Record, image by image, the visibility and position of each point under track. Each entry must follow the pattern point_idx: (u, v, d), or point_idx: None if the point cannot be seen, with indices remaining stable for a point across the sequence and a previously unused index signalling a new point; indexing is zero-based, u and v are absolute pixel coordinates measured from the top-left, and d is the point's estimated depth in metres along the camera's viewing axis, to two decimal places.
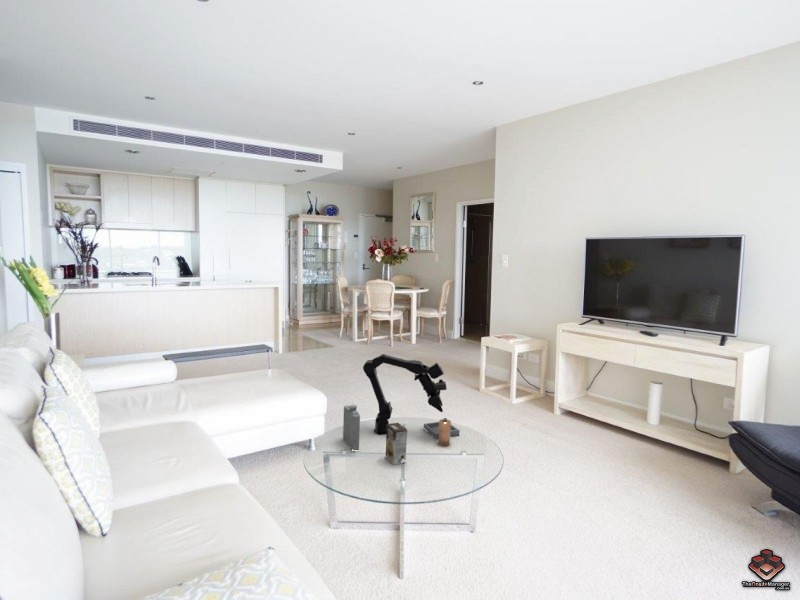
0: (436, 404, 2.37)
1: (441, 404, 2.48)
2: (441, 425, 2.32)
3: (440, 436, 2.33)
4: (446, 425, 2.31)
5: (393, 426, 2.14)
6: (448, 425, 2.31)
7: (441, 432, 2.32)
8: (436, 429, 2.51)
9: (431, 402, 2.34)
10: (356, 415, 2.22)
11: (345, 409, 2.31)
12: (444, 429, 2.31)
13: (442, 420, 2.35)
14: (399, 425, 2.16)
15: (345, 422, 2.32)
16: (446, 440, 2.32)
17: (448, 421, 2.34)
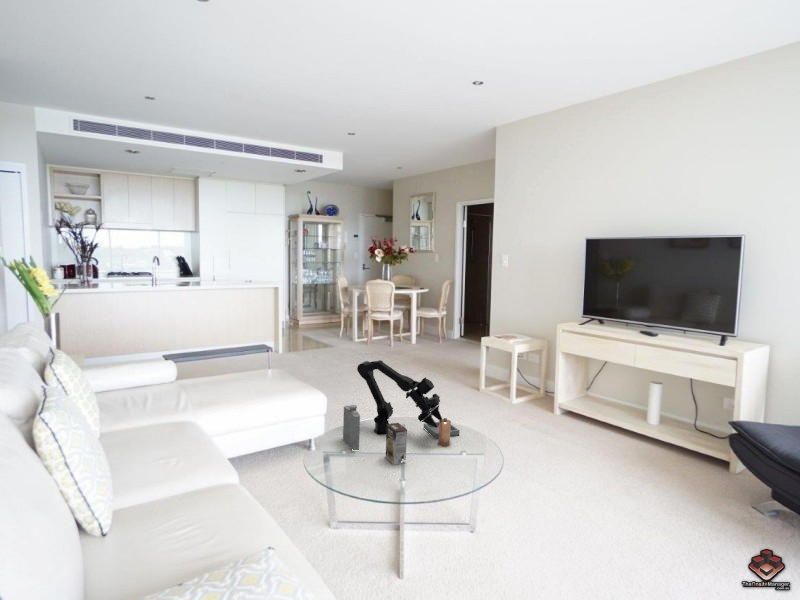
0: (429, 420, 2.30)
1: None
2: (441, 425, 2.32)
3: (440, 436, 2.33)
4: (446, 425, 2.31)
5: (393, 426, 2.14)
6: (448, 425, 2.31)
7: (441, 432, 2.32)
8: (436, 429, 2.51)
9: (421, 418, 2.28)
10: (356, 415, 2.22)
11: (345, 409, 2.31)
12: (444, 429, 2.31)
13: (442, 420, 2.35)
14: (399, 425, 2.16)
15: (345, 422, 2.32)
16: (446, 440, 2.32)
17: (448, 421, 2.34)
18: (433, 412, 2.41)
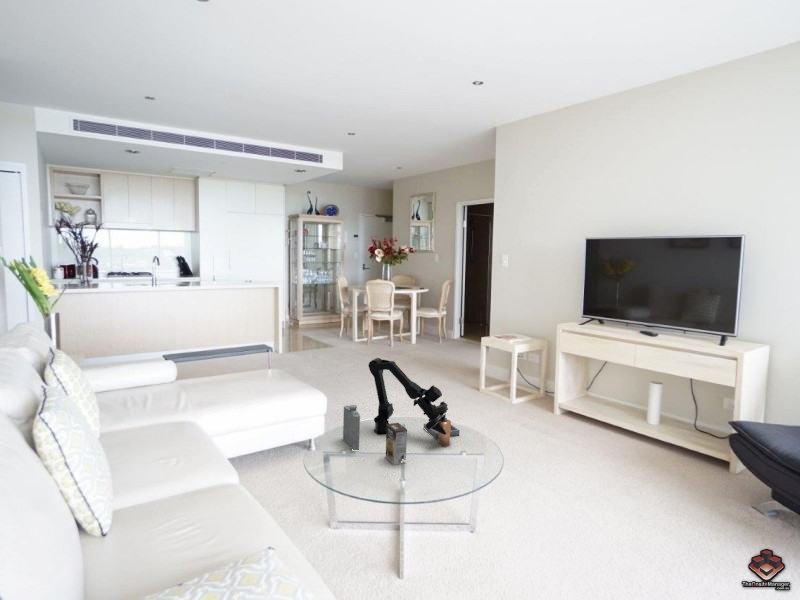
0: (437, 427, 2.31)
1: None
2: (441, 425, 2.32)
3: (440, 436, 2.33)
4: (446, 425, 2.31)
5: (393, 426, 2.14)
6: (448, 425, 2.31)
7: None
8: None
9: (428, 427, 2.27)
10: (356, 415, 2.22)
11: (345, 409, 2.31)
12: (444, 429, 2.31)
13: (442, 420, 2.35)
14: (399, 425, 2.16)
15: (345, 422, 2.32)
16: (446, 440, 2.32)
17: (448, 421, 2.34)
18: None
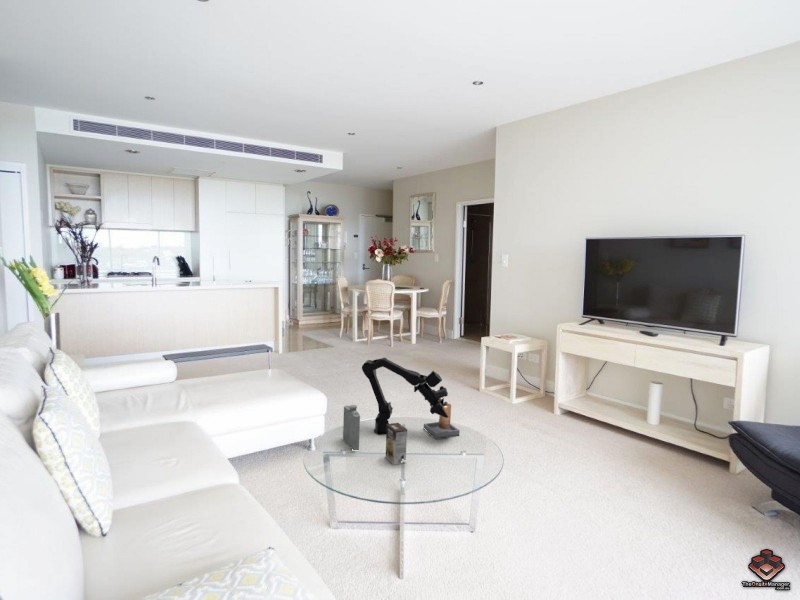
0: (440, 411, 2.37)
1: None
2: None
3: (442, 419, 2.39)
4: (448, 408, 2.38)
5: (393, 426, 2.14)
6: (449, 408, 2.39)
7: None
8: (436, 429, 2.51)
9: (433, 411, 2.32)
10: (356, 415, 2.22)
11: (345, 409, 2.31)
12: None
13: None
14: (399, 425, 2.16)
15: (345, 422, 2.32)
16: (447, 423, 2.39)
17: (448, 404, 2.41)
18: None
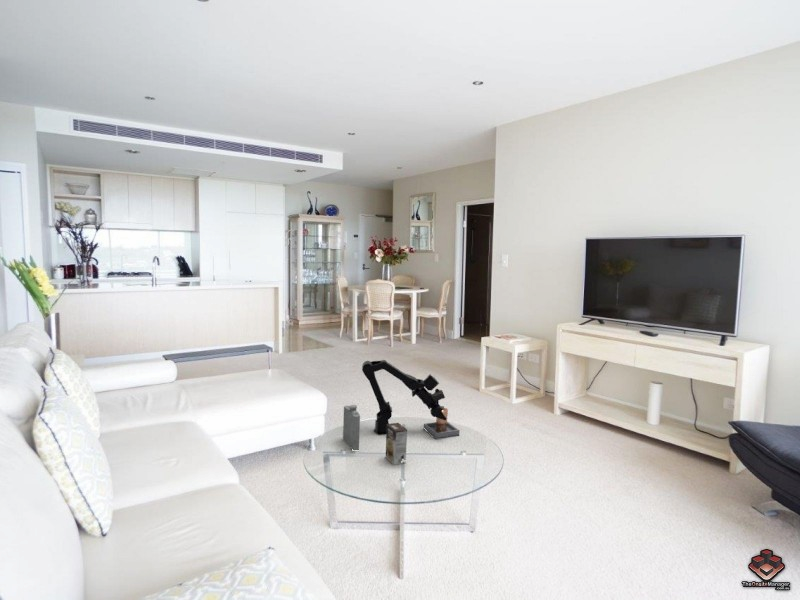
0: (439, 414, 2.42)
1: None
2: None
3: (439, 424, 2.46)
4: (445, 412, 2.46)
5: (393, 426, 2.14)
6: (447, 412, 2.47)
7: (441, 420, 2.46)
8: None
9: (434, 414, 2.38)
10: (356, 415, 2.22)
11: (345, 409, 2.31)
12: None
13: None
14: (399, 425, 2.16)
15: (345, 422, 2.32)
16: (445, 427, 2.47)
17: (445, 409, 2.49)
18: None
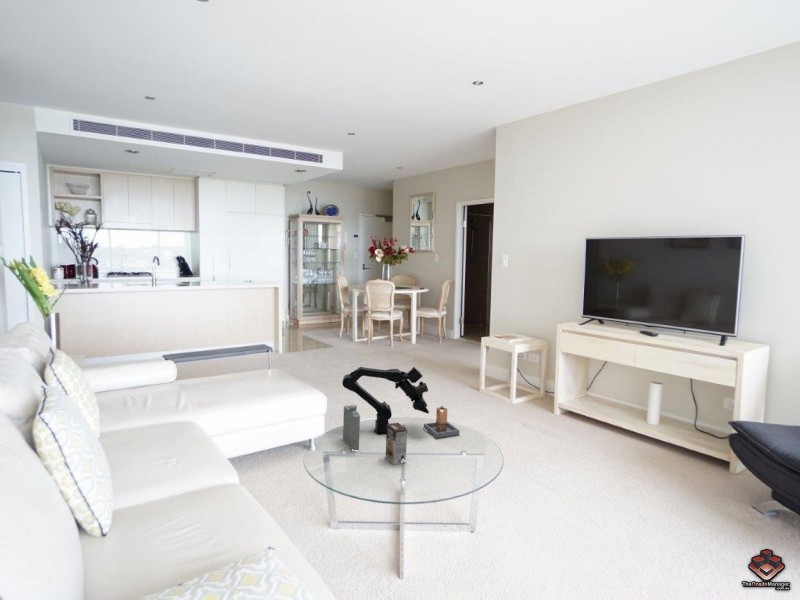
0: (421, 407, 2.41)
1: (426, 405, 2.52)
2: (441, 413, 2.46)
3: (439, 424, 2.46)
4: (445, 412, 2.46)
5: (393, 426, 2.14)
6: (446, 412, 2.47)
7: (441, 420, 2.46)
8: None
9: (416, 407, 2.37)
10: (356, 415, 2.22)
11: (345, 409, 2.31)
12: (443, 417, 2.46)
13: (439, 408, 2.49)
14: (399, 425, 2.16)
15: (345, 422, 2.32)
16: (445, 427, 2.47)
17: (444, 408, 2.49)
18: None
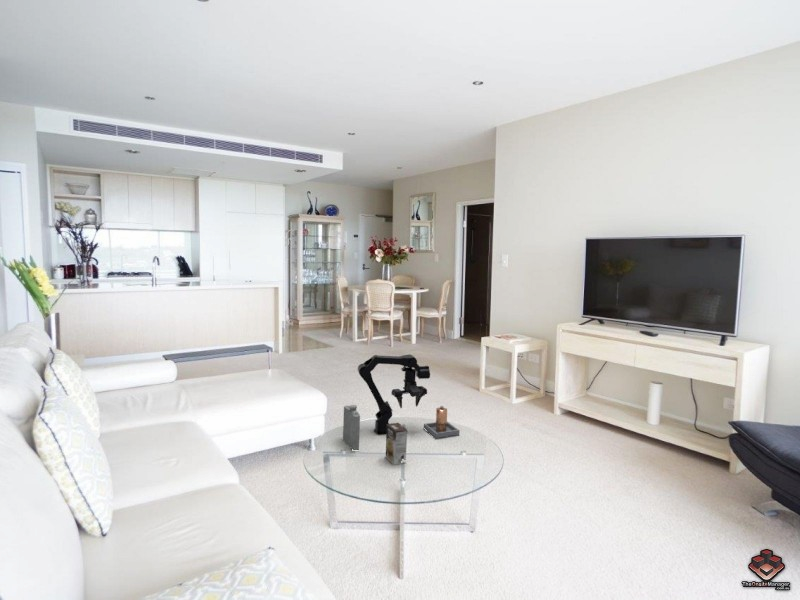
0: (398, 398, 2.46)
1: (416, 405, 2.50)
2: (440, 414, 2.45)
3: (439, 424, 2.46)
4: (445, 412, 2.46)
5: (393, 426, 2.14)
6: (446, 412, 2.47)
7: (440, 420, 2.46)
8: None
9: (392, 393, 2.45)
10: (356, 415, 2.22)
11: (345, 409, 2.31)
12: (443, 417, 2.46)
13: (438, 408, 2.48)
14: (399, 425, 2.16)
15: (345, 422, 2.32)
16: (445, 427, 2.47)
17: (444, 408, 2.49)
18: None
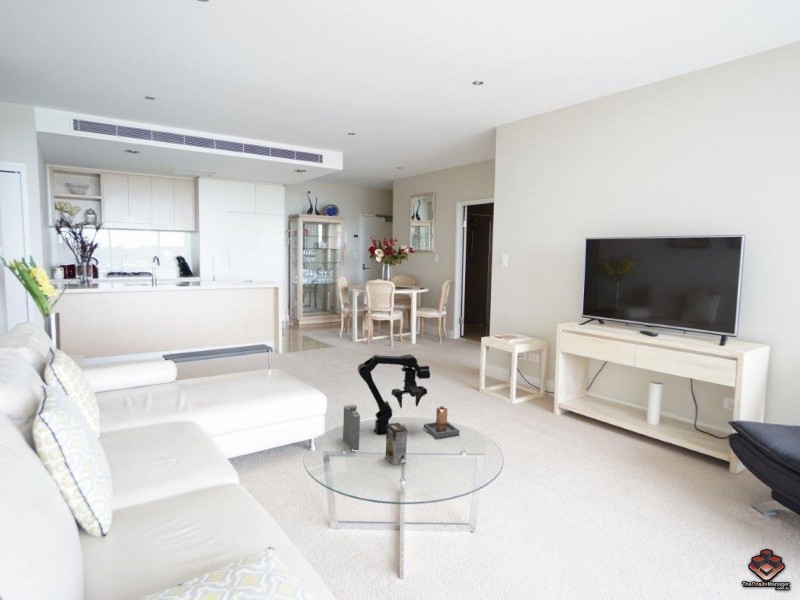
0: (398, 398, 2.46)
1: (416, 405, 2.50)
2: (441, 413, 2.46)
3: (440, 423, 2.46)
4: (445, 412, 2.46)
5: (393, 426, 2.14)
6: (446, 412, 2.47)
7: (441, 419, 2.46)
8: None
9: (392, 393, 2.45)
10: (356, 415, 2.22)
11: (345, 409, 2.31)
12: (443, 417, 2.46)
13: (439, 408, 2.49)
14: (399, 425, 2.16)
15: (345, 422, 2.32)
16: (445, 427, 2.47)
17: (444, 408, 2.49)
18: None
